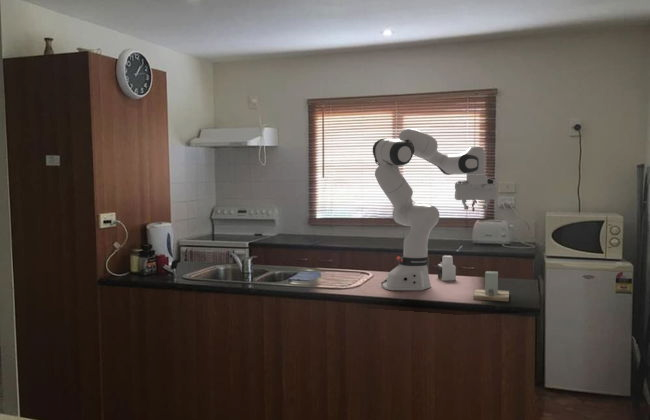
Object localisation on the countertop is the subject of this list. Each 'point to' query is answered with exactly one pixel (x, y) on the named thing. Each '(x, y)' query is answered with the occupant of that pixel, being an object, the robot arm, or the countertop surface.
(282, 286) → the countertop surface
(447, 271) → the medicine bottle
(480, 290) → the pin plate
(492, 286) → the block
